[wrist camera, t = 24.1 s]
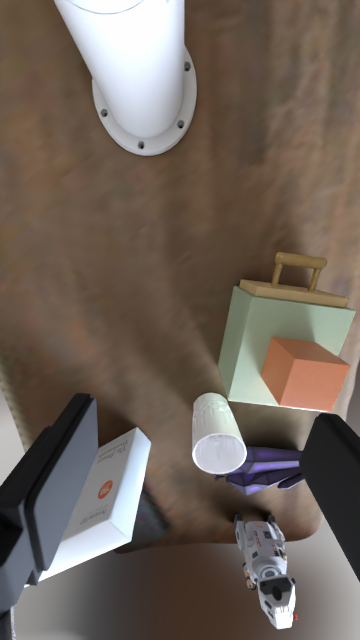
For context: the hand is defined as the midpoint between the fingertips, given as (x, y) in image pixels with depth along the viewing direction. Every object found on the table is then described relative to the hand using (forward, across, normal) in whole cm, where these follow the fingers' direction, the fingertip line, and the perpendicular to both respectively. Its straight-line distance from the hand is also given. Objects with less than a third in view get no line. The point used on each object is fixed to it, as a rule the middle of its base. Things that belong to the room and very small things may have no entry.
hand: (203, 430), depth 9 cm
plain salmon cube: (+17, -13, +5) cm, 22 cm away
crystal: (+26, -17, +31) cm, 44 cm away
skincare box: (+26, +14, +35) cm, 46 cm away
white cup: (+26, -7, +21) cm, 34 cm away
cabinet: (+26, -13, +5) cm, 30 cm away
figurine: (+25, -21, +49) cm, 59 cm away
